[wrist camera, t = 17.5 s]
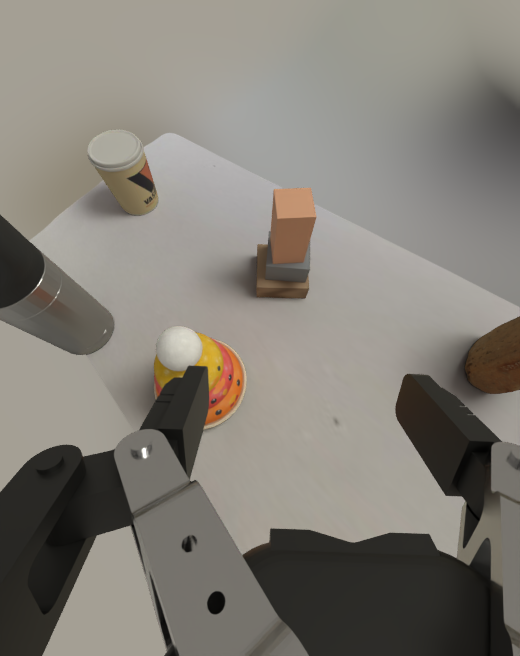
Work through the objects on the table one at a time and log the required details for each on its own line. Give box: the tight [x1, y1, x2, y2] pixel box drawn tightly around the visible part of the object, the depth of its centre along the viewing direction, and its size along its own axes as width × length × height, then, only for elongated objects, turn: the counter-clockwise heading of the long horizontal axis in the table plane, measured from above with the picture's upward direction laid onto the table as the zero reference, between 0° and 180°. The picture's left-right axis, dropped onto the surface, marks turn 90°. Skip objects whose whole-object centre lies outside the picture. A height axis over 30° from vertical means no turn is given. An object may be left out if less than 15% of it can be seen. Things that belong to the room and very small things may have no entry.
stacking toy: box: [154, 326, 247, 429], centre depth 36 cm, size 14×14×20 cm
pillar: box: [270, 188, 316, 264], centre depth 41 cm, size 5×5×10 cm
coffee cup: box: [88, 130, 158, 215], centre depth 53 cm, size 9×9×12 cm
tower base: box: [257, 244, 309, 298], centre depth 51 cm, size 9×9×4 cm
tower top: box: [265, 231, 310, 283], centre depth 48 cm, size 7×7×4 cm
